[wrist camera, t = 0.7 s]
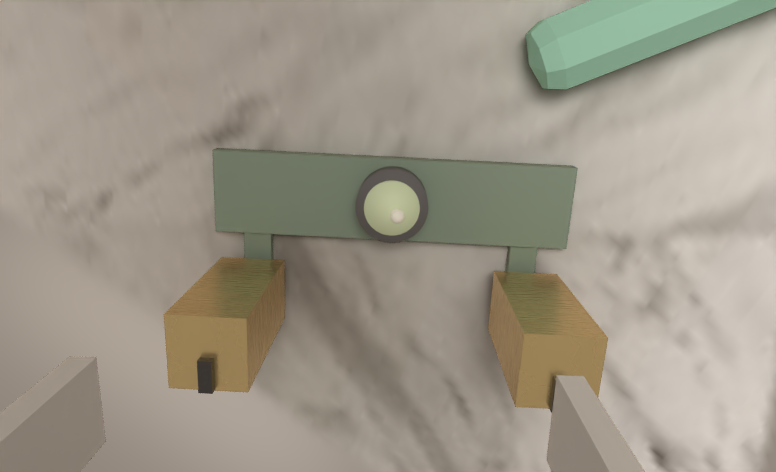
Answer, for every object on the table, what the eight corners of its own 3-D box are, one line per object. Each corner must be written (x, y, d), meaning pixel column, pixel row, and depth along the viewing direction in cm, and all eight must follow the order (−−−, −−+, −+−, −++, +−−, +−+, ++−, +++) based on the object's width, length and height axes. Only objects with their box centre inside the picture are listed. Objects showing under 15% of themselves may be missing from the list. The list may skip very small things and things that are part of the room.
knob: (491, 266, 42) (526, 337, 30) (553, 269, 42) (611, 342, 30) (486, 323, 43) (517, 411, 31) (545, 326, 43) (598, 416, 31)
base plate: (217, 148, 41) (196, 155, 37) (572, 165, 40) (592, 175, 36) (223, 294, 44) (204, 317, 40) (552, 311, 44) (568, 336, 39)
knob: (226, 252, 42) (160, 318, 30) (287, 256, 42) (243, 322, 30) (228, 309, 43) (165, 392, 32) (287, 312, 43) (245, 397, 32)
